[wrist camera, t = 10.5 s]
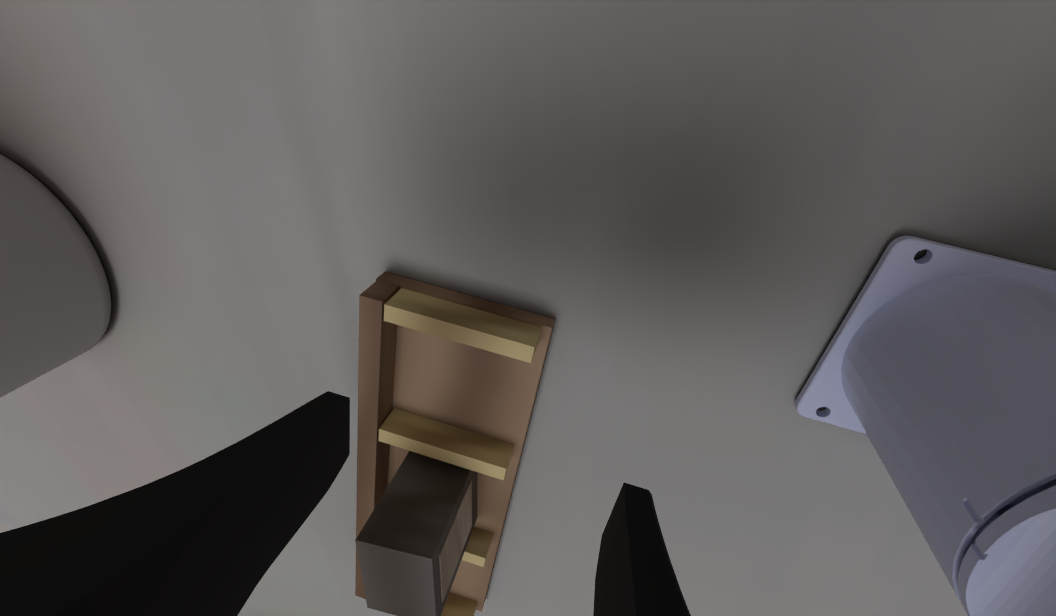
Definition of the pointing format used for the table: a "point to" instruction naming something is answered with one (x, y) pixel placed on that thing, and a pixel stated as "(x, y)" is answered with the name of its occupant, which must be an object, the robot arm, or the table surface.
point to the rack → (446, 404)
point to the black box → (417, 537)
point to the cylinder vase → (44, 282)
